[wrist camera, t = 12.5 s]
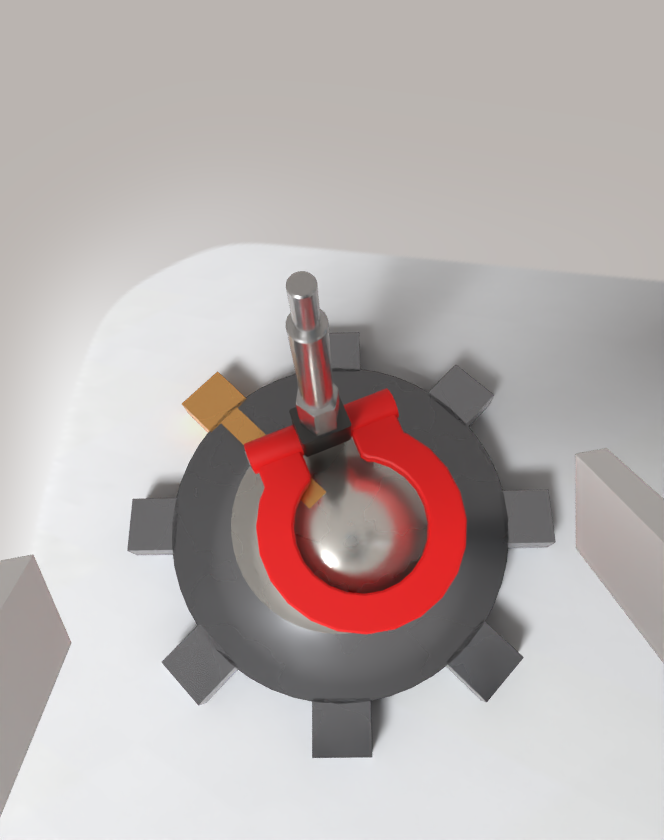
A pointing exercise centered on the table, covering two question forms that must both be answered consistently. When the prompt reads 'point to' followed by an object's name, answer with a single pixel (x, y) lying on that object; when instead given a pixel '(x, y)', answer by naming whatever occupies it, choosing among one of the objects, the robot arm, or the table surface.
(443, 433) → the sprocket plate
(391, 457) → the tow hook
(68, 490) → the table surface
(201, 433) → the table surface
